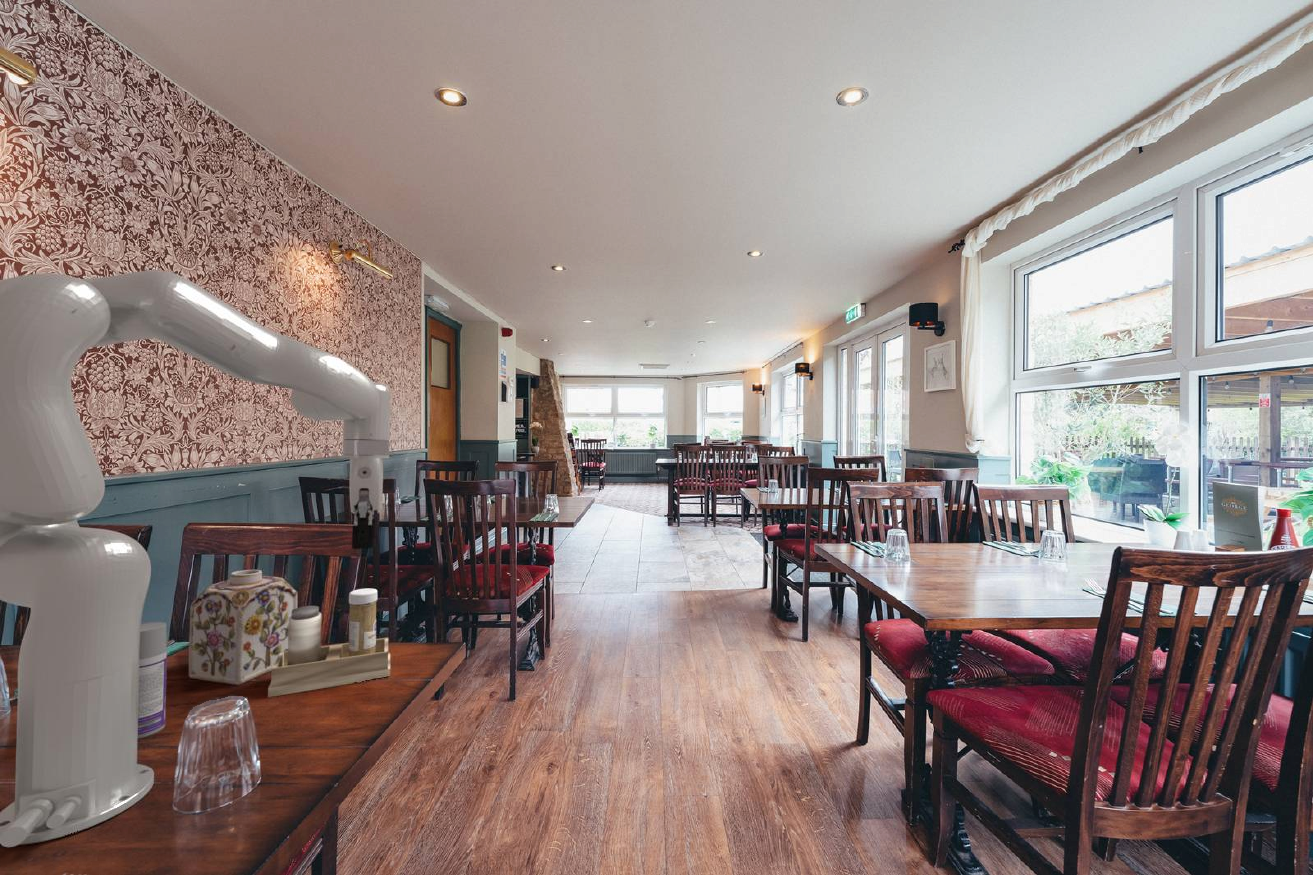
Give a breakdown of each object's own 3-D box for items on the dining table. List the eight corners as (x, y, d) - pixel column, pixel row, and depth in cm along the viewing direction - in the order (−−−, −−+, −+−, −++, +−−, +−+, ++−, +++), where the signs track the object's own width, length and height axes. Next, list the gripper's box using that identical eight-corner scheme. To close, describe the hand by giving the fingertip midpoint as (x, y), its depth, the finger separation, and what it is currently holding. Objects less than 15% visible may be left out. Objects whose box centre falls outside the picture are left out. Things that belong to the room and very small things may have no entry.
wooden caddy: (390, 677, 96) (391, 606, 96) (268, 697, 88) (269, 619, 88) (390, 660, 104) (391, 594, 104) (277, 677, 96) (278, 606, 96)
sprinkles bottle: (377, 666, 97) (379, 591, 97) (348, 672, 95) (350, 595, 95) (374, 658, 101) (375, 586, 101) (346, 663, 98) (348, 589, 99)
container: (131, 726, 79) (134, 623, 79) (171, 720, 81) (173, 620, 81) (112, 742, 75) (115, 634, 75) (155, 736, 76) (157, 630, 76)
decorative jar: (185, 679, 95) (188, 576, 95) (250, 654, 106) (252, 563, 106) (239, 686, 92) (241, 581, 92) (299, 660, 103) (300, 566, 104)
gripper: (389, 450, 92) (386, 550, 92) (389, 450, 108) (386, 535, 107) (338, 450, 89) (335, 553, 89) (346, 449, 105) (343, 538, 104)
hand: (363, 543), depth 98 cm, fingers open, 9 cm apart
